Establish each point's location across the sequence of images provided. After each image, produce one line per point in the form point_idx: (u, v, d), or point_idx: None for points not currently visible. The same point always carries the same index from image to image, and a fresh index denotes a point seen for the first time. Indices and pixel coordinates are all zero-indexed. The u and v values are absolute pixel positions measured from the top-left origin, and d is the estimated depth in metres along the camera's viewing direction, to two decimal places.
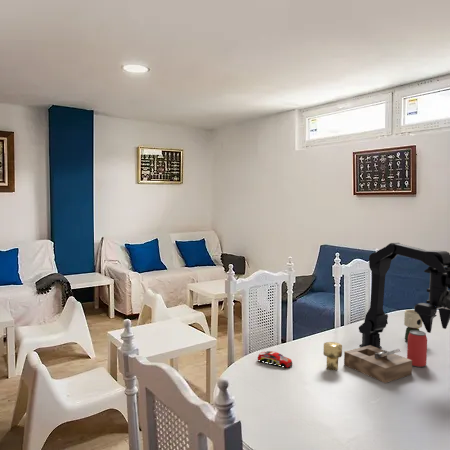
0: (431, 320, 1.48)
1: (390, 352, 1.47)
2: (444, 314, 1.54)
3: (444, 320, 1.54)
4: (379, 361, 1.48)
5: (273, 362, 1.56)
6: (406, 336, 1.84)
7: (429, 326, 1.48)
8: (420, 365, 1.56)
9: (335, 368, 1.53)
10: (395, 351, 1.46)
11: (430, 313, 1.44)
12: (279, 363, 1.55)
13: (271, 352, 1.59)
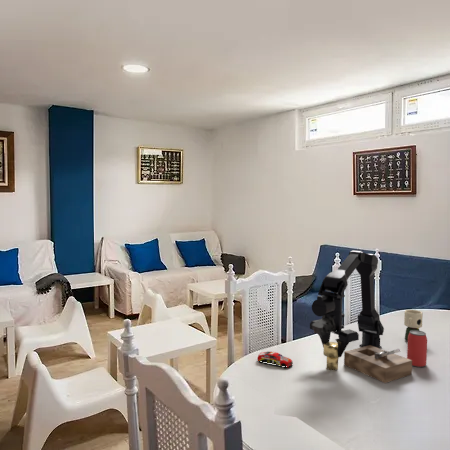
0: (321, 338, 1.57)
1: (390, 352, 1.47)
2: None
3: None
4: (379, 361, 1.48)
5: (273, 362, 1.56)
6: (406, 336, 1.84)
7: None
8: (420, 365, 1.56)
9: (335, 368, 1.53)
10: (395, 351, 1.46)
11: (310, 326, 1.60)
12: (280, 363, 1.55)
13: (271, 352, 1.59)
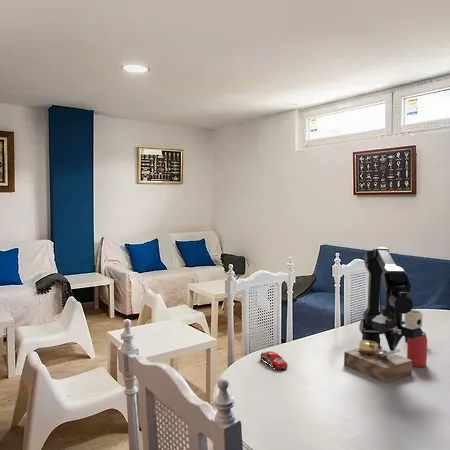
0: (386, 336, 1.48)
1: (390, 352, 1.47)
2: None
3: None
4: (379, 361, 1.48)
5: (268, 362, 1.56)
6: None
7: None
8: (420, 365, 1.56)
9: None
10: (395, 351, 1.46)
11: (366, 322, 1.53)
12: (272, 364, 1.54)
13: (271, 352, 1.59)
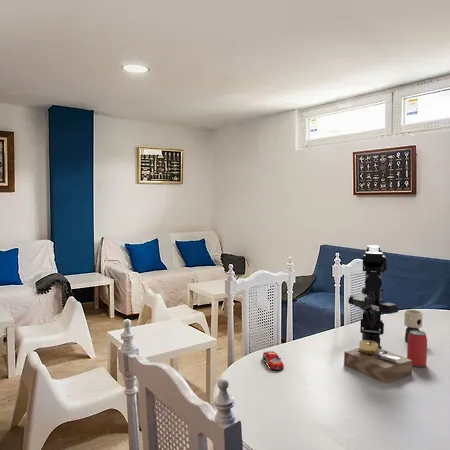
0: (366, 314, 1.61)
1: (391, 359, 1.46)
2: None
3: None
4: (379, 361, 1.48)
5: (266, 361, 1.57)
6: (406, 336, 1.84)
7: None
8: (420, 365, 1.56)
9: None
10: (397, 360, 1.45)
11: (348, 301, 1.67)
12: (268, 364, 1.54)
13: (272, 352, 1.59)
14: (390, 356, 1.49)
